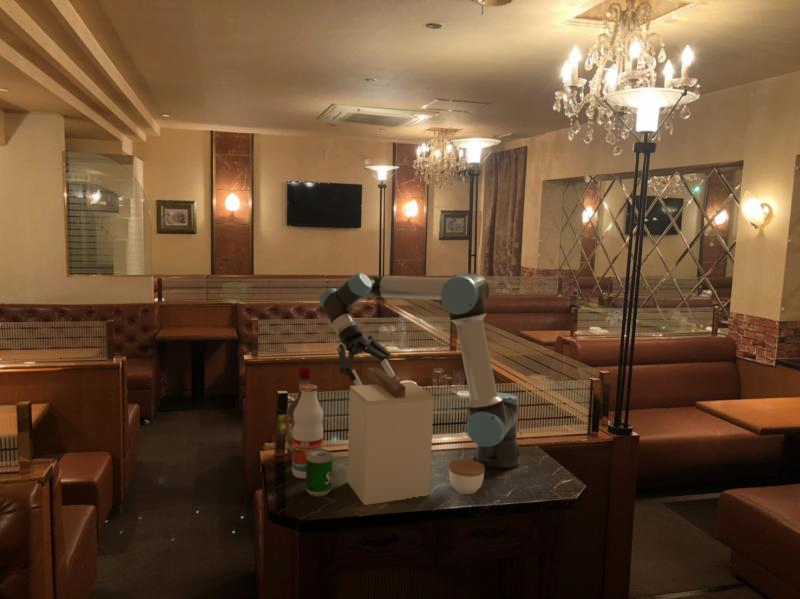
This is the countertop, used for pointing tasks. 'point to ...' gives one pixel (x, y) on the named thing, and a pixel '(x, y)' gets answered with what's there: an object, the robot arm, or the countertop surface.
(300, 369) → the liquor
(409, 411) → the pedestal
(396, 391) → the dark brown wooden post
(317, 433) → the fruit juice
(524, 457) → the countertop surface
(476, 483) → the lidded jar
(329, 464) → the soda can
